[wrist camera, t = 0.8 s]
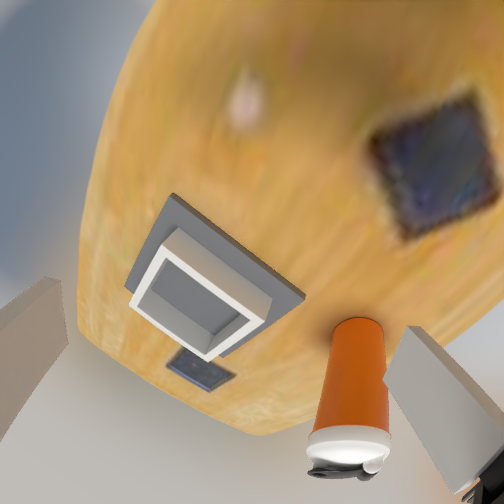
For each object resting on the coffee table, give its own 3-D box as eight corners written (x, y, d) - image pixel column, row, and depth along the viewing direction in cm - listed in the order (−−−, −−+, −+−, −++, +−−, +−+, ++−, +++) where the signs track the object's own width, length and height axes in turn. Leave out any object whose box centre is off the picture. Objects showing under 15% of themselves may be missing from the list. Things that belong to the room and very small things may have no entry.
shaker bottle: (323, 313, 36) (294, 463, 20) (391, 309, 33) (394, 464, 17) (329, 355, 41) (305, 482, 24) (387, 353, 37) (382, 484, 21)
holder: (173, 192, 33) (150, 211, 29) (305, 294, 35) (299, 323, 31) (127, 282, 44) (110, 302, 40) (224, 353, 47) (214, 376, 43)
